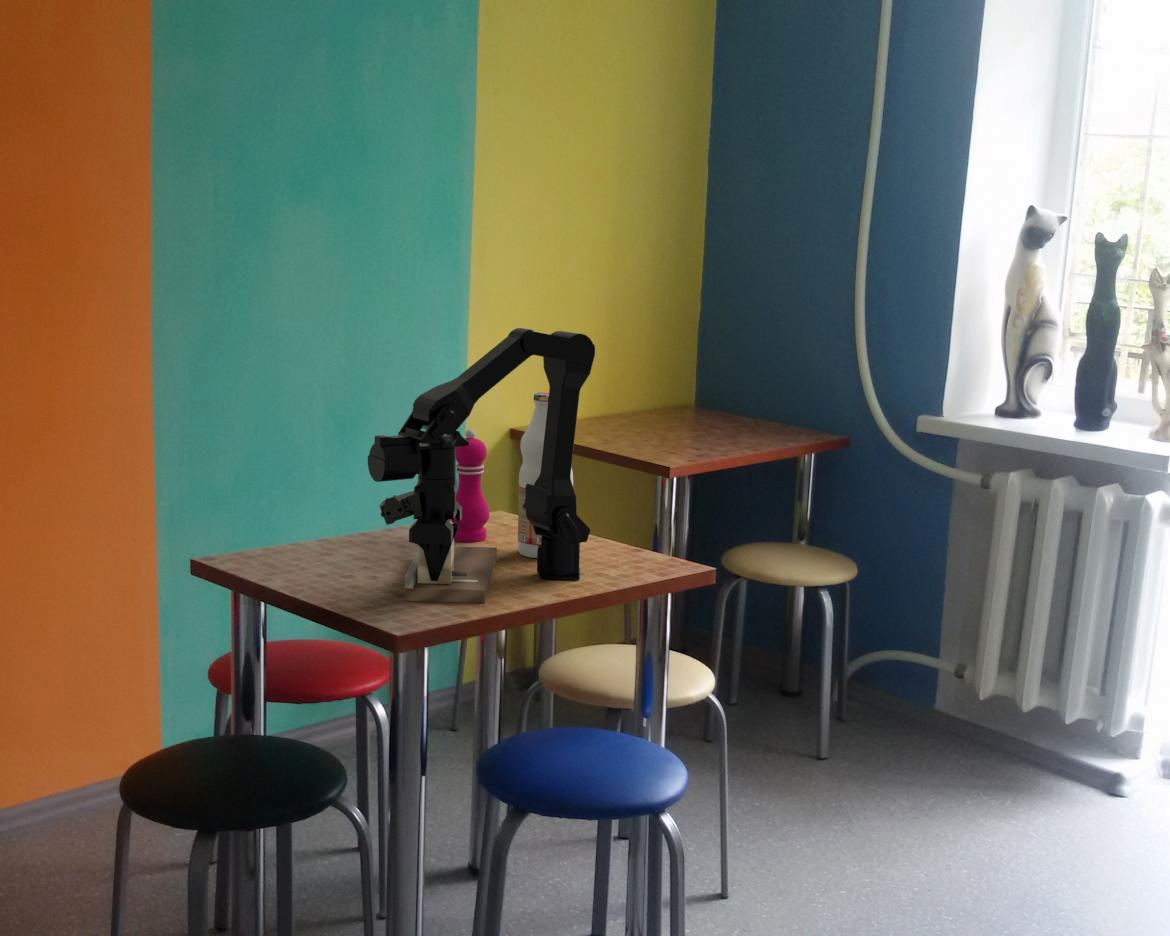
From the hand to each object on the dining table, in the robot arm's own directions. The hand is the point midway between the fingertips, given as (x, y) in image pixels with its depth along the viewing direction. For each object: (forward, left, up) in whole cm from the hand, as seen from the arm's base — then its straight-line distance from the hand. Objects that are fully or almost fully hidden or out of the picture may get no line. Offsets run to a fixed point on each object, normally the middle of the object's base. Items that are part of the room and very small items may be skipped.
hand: (436, 576), depth 212 cm
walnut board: (-2, -9, -3) cm, 9 cm away
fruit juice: (-16, -28, -3) cm, 32 cm away
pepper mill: (-2, -38, -3) cm, 38 cm away
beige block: (-1, 0, 0) cm, 1 cm away
